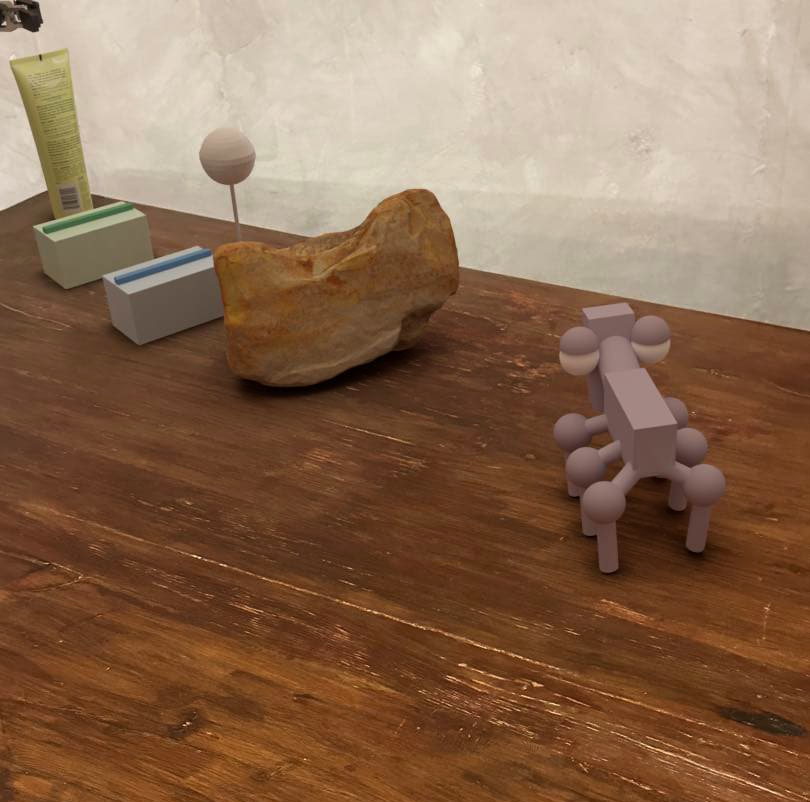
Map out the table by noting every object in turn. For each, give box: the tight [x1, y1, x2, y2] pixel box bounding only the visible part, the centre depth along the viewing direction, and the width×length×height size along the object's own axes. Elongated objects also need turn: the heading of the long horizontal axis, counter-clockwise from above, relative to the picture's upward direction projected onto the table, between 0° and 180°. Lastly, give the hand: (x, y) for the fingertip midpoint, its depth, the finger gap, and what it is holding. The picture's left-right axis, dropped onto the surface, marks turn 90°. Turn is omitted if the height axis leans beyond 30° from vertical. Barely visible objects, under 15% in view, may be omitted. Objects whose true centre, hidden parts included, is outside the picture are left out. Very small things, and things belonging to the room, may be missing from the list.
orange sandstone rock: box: [212, 188, 461, 388], centre depth 107 cm, size 23×17×15 cm
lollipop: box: [198, 127, 257, 242], centre depth 124 cm, size 6×6×15 cm
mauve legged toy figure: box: [552, 301, 727, 574], centre depth 85 cm, size 20×11×14 cm, turn 6°
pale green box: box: [32, 200, 155, 290], centre depth 127 cm, size 11×6×6 cm, turn 127°
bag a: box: [101, 245, 224, 346], centre depth 115 cm, size 11×6×6 cm, turn 127°
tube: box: [8, 47, 94, 220], centre depth 136 cm, size 6×5×20 cm
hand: (2, 29), depth 137 cm, fingers open, 8 cm apart
